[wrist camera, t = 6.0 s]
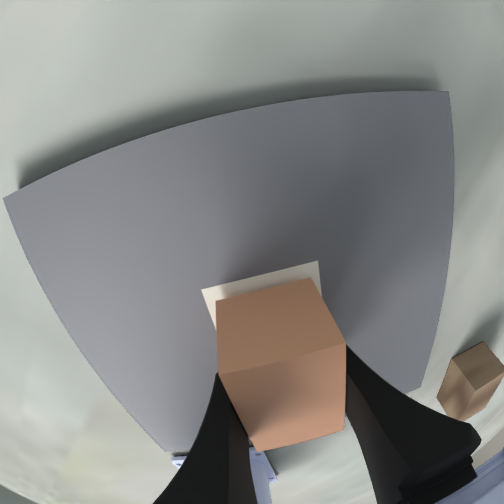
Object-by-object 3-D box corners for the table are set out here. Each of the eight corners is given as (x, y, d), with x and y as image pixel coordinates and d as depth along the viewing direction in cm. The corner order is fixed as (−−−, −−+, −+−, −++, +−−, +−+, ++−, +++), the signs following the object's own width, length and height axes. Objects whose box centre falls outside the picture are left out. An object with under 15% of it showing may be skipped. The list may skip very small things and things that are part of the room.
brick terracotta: (320, 369, 15) (343, 429, 11) (247, 388, 15) (257, 452, 11) (310, 277, 12) (345, 342, 9) (215, 300, 12) (218, 374, 9)
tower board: (414, 378, 20) (420, 387, 19) (165, 440, 19) (164, 451, 18) (435, 90, 11) (448, 91, 10) (14, 191, 10) (2, 198, 9)
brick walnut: (466, 381, 23) (484, 407, 19) (436, 397, 23) (454, 426, 19) (483, 341, 20) (507, 369, 16) (451, 358, 20) (475, 391, 16)
